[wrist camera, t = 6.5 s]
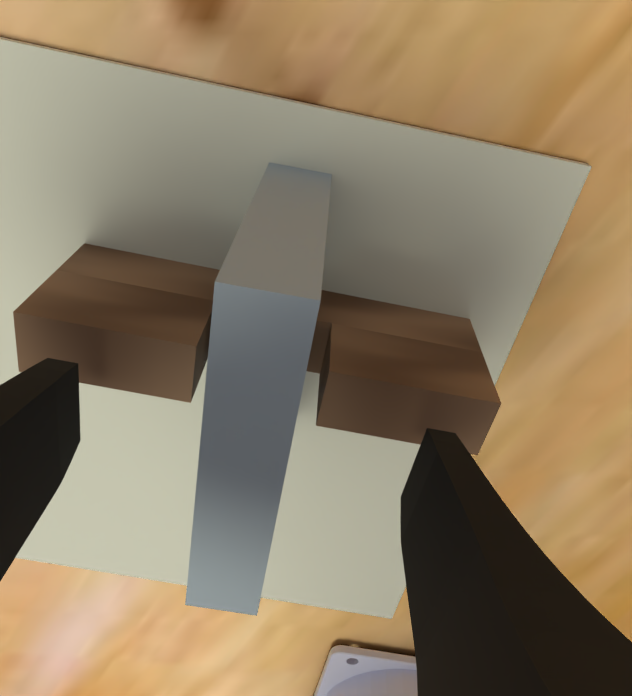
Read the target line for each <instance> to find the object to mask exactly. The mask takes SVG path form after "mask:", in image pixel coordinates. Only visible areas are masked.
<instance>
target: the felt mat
mask: <svg viewBox="0 0 632 696" xmlns="http://www.w3.org/2000/svg"><path fill="white" fill-rule="evenodd" d="M269 162H270V163H275V164H281V165H286V166H291V167H296V168H302V169H307V170H312V171H317V172H323V173H328V174H332V178H331V189H330V200H329V211H328V223H327V234H326V245H325V256H324V268H323V279H322V290H325V291H330V292H335V293H340V294H346V295H351V296H356V297H361V298H366V299H371V300H376V301H381V302H386V303H391V304H396V305H402V306H407V307H412V308H417V309H422V310H427V311H432V312H437V313H442V314H447V315H452V316H458V317H463V318H468V319H470V321H471V323H472V326H473V329H474V332H475V334H476V337H477V340H478V342H479V345H480V348H481V351H482V353H483V356H484V359H485V361H486V364H487V367H488V370H489V372H490V375H491V378H492V380H493V383H494V386H495V384H496V382H497V380H498V377H499V375H500V373H501V371H502V368H503V366H504V364H505V362H506V359H507V357H508V355H509V352H510V350H511V348H512V346H513V343H514V341H515V339H516V337H517V334H518V332H519V330H520V328H521V325H522V323H523V321H524V319H525V316H526V314H527V312H528V310H529V307H530V305H531V303H532V300H533V298H534V296H535V294H536V291H537V289H538V287H539V285H540V282H541V280H542V278H543V276H544V273H545V271H546V269H547V267H548V264H549V262H550V260H551V258H552V255H553V253H554V251H555V248H556V246H557V244H558V242H559V239H560V237H561V235H562V233H563V230H564V228H565V226H566V224H567V221H568V219H569V217H570V215H571V212H572V210H573V208H574V206H575V203H576V201H577V199H578V196H579V194H580V192H581V190H582V187H583V185H584V183H585V181H586V178H587V176H588V174H589V172H590V169H591V166H590V165H589V164H587V163H582V162H578V161H573V160H568V159H564V158H559V157H554V156H550V155H545V154H540V153H536V152H531V151H527V150H522V149H517V148H513V147H508V146H503V145H499V144H494V143H490V142H485V141H480V140H476V139H471V138H466V137H462V136H457V135H453V134H448V133H443V132H439V131H434V130H429V129H425V128H420V127H416V126H411V125H406V124H402V123H397V122H392V121H388V120H383V119H378V118H374V117H369V116H365V115H360V114H355V113H351V112H346V111H341V110H337V109H332V108H328V107H323V106H318V105H314V104H309V103H304V102H300V101H295V100H291V99H286V98H281V97H277V96H272V95H267V94H263V93H258V92H254V91H249V90H244V89H240V88H235V87H230V86H226V85H221V84H216V83H212V82H207V81H203V80H198V79H193V78H189V77H184V76H179V75H175V74H170V73H166V72H161V71H156V70H152V69H147V68H142V67H138V66H133V65H129V64H124V63H119V62H115V61H110V60H105V59H101V58H96V57H92V56H87V55H82V54H78V53H73V52H68V51H64V50H59V49H54V48H50V47H45V46H41V45H36V44H31V43H27V42H22V41H17V40H13V39H8V38H4V37H0V385H1V384H3V383H4V382H6V381H8V380H9V379H11V378H13V377H15V376H16V375H18V374H20V373H21V372H19V369H18V359H17V348H16V338H15V328H14V317H13V311H14V310H15V309H17V308H18V307H19V306H20V305H21V304H22V303H23V302H24V301H25V300H26V299H27V298H28V297H29V296H30V295H31V294H32V293H33V292H34V291H35V290H36V289H37V288H38V287H39V286H40V285H41V284H43V283H44V282H45V281H46V280H47V279H48V278H49V277H50V276H51V275H52V274H53V273H54V272H55V271H56V270H57V269H58V268H59V267H60V266H61V265H62V264H63V263H64V262H65V261H66V260H67V259H69V258H70V257H71V256H72V255H73V254H74V253H75V252H76V251H77V250H78V249H79V248H80V247H81V246H82V245H83V244H84V243H86V244H91V245H96V246H101V247H106V248H111V249H116V250H121V251H127V252H132V253H137V254H142V255H147V256H152V257H157V258H162V259H167V260H172V261H177V262H183V263H188V264H193V265H198V266H203V267H208V268H213V269H218V270H220V269H221V267H222V265H223V262H224V260H225V258H226V256H227V254H228V251H229V249H230V247H231V245H232V243H233V241H234V238H235V236H236V234H237V232H238V230H239V227H240V225H241V223H242V221H243V219H244V216H245V214H246V212H247V210H248V208H249V206H250V203H251V201H252V199H253V197H254V195H255V192H256V190H257V188H258V186H259V184H260V181H261V179H262V177H263V175H264V173H265V171H266V168H267V166H268V164H269ZM207 361H208V359H207ZM206 372H207V362H206V364H205V367H204V370H203V372H202V375H201V377H200V380H199V383H198V385H197V388H196V391H195V393H194V396H193V398H192V401H191V403H189V402H183V401H178V400H172V399H167V398H161V397H156V396H150V395H145V394H139V393H134V392H128V391H123V390H117V389H111V388H106V387H100V386H95V385H89V384H84V383H79V404H80V439H81V440H80V443H79V445H78V447H77V450H76V452H75V454H74V456H73V459H72V461H71V463H70V466H69V468H68V470H67V472H66V474H65V476H64V478H63V480H62V483H61V484H60V486H59V488H58V489H57V491H56V493H55V494H54V496H53V498H52V499H51V501H50V502H49V504H48V506H47V507H46V509H45V511H44V512H43V514H42V515H41V517H40V519H39V520H38V522H37V523H36V525H35V527H34V528H33V530H32V531H31V533H30V535H29V536H28V538H27V539H26V541H25V543H24V544H23V546H22V547H21V549H20V551H19V552H18V554H17V555H16V557H15V558H20V559H26V560H32V561H39V562H45V563H51V564H57V565H63V566H69V567H76V568H82V569H88V570H94V571H100V572H106V573H112V574H119V575H125V576H131V577H137V578H143V579H149V580H156V581H162V582H168V583H174V584H180V585H186V586H187V581H188V570H189V559H190V548H191V537H192V526H193V515H194V504H195V493H196V482H197V471H198V460H199V449H200V438H201V427H202V416H203V405H204V394H205V383H206ZM319 376H320V374H319V373H313V372H308V371H306V375H305V380H304V385H303V390H302V395H301V400H300V405H299V410H298V415H297V420H296V425H295V430H294V434H293V439H292V444H291V449H290V454H289V459H288V464H287V469H286V474H285V479H284V484H283V489H282V494H281V499H280V504H279V509H278V514H277V519H276V523H275V528H274V533H273V538H272V543H271V548H270V553H269V558H268V563H267V568H266V573H265V578H264V583H263V588H262V593H261V598H266V599H273V600H279V601H285V602H291V603H297V604H303V605H310V606H316V607H322V608H328V609H334V610H340V611H347V612H353V613H359V614H365V615H371V616H377V617H383V618H390V619H392V617H393V615H394V612H395V610H396V608H397V606H398V603H399V601H400V599H401V597H402V594H403V592H404V590H405V588H406V579H405V572H404V564H403V556H402V548H401V524H400V515H401V495H402V492H403V489H404V487H405V484H406V482H407V479H408V476H409V474H410V471H411V468H412V466H413V463H414V461H415V458H416V455H417V453H418V450H419V448H420V444H414V443H409V442H403V441H398V440H392V439H387V438H381V437H376V436H370V435H365V434H359V433H354V432H348V431H343V430H337V429H332V428H326V427H321V426H316V417H317V403H318V390H319Z"/></svg>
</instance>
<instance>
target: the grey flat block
mask: <svg viewBox="0 0 632 696" xmlns="http://www.w3.org/2000/svg"><path fill="white" fill-rule="evenodd" d="M331 178H332V174H328V173H323V172H317V171H312V170H307V169H302V168H296V167H291V166H286V165H281V164H275V163H270V162H269V164H268V166H267V168H266V171H265V173H264V175H263V177H262V179H261V181H260V184H259V186H258V188H257V190H256V192H255V195H254V197H253V199H252V201H251V203H250V206H249V208H248V210H247V212H246V214H245V216H244V219H243V221H242V223H241V225H240V227H239V230H238V232H237V234H236V236H235V238H234V241H233V243H232V245H231V247H230V249H229V251H228V254H227V256H226V258H225V260H224V262H223V265H222V267H221V269H220V271H219V273H218V276H217V278H216V280H215V284H214V295H213V306H212V317H211V328H210V339H209V350H208V361H207V372H206V383H205V394H204V405H203V416H202V427H201V438H200V449H199V460H198V471H197V482H196V493H195V504H194V515H193V526H192V537H191V548H190V559H189V570H188V581H187V592H186V603H185V605H190V606H196V607H203V608H210V609H216V610H223V611H230V612H236V613H243V614H250V615H256V616H257V612H258V608H259V603H260V598H261V593H262V588H263V583H264V578H265V573H266V568H267V563H268V558H269V553H270V548H271V543H272V538H273V533H274V528H275V523H276V519H277V514H278V509H279V504H280V499H281V494H282V489H283V484H284V479H285V474H286V469H287V464H288V459H289V454H290V449H291V444H292V439H293V434H294V430H295V425H296V420H297V415H298V410H299V405H300V400H301V395H302V390H303V385H304V380H305V375H306V370H307V365H308V360H309V355H310V350H311V345H312V341H313V336H314V331H315V326H316V321H317V316H318V311H319V306H320V301H321V290H322V279H323V268H324V256H325V245H326V234H327V223H328V211H329V200H330V189H331Z"/></svg>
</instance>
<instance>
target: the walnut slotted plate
mask: <svg viewBox="0 0 632 696" xmlns="http://www.w3.org/2000/svg"><path fill="white" fill-rule="evenodd" d="M219 271H220V270H218V269H213V268H208V267H203V266H198V265H193V264H188V263H183V262H177V261H172V260H167V259H162V258H157V257H152V256H147V255H142V254H137V253H132V252H127V251H121V250H116V249H111V248H106V247H101V246H96V245H91V244H86V243H84V244H83V245H82V246H81V247H80V248H79V249H78V250H77V251H76V252H75V253H74V254H73V255H72V256H71V257H70V258H69V259H67V260H66V261H65V262H64V263H63V264H62V265H61V266H60V267H59V268H58V269H57V270H56V271H55V272H54V273H53V274H52V275H51V276H50V277H49V278H48V279H47V280H46V281H45V282H44V283H43V284H41V285H40V286H39V287H38V288H37V289H36V290H35V291H34V292H33V293H32V294H31V295H30V296H29V297H28V298H27V299H26V300H25V301H24V302H23V303H22V304H21V305H20V306H19V307H18V308H17V309H15V310H14V311H13V317H14V328H15V338H16V348H17V359H18V369H19V372H23V371H25V370H27V369H28V368H30V367H32V366H34V365H35V364H37V363H39V362H41V361H43V360H45V359H46V358H52V359H58V360H63V361H68V362H74V363H78V369H79V383H84V384H89V385H95V386H100V387H106V388H111V389H117V390H123V391H128V392H134V393H139V394H145V395H150V396H156V397H161V398H167V399H172V400H178V401H183V402H189V403H191V401H192V398H193V396H194V393H195V391H196V388H197V385H198V383H199V380H200V377H201V375H202V372H203V370H204V367H205V364H206V362H207V359H208V350H209V339H210V328H211V317H212V306H213V295H214V284H215V280H216V278H217V276H218V273H219ZM306 371H308V372H313V373H319V374H320V376H319V390H318V403H317V417H316V426H321V427H326V428H332V429H337V430H343V431H348V432H354V433H359V434H365V435H370V436H376V437H381V438H387V439H392V440H398V441H403V442H409V443H414V444H420V445H421V442H422V440H423V437H424V434H425V432H426V429H427V428H431V429H436V430H442V431H447V432H452V433H456V434H457V436H458V437H459V439H460V440H461V442H462V443H463V444H464V446H465V447H466V449H467V450H468V452H469V453H470V454H475V455H478V453H479V451H480V448H481V446H482V444H483V442H484V440H485V438H486V435H487V433H488V431H489V429H490V427H491V424H492V422H493V420H494V418H495V416H496V414H497V411H498V409H499V407H500V405H501V402H500V399H499V397H498V394H497V391H496V388H495V386H494V383H493V380H492V378H491V375H490V372H489V370H488V367H487V364H486V361H485V359H484V356H483V353H482V351H481V348H480V345H479V342H478V340H477V337H476V334H475V332H474V329H473V326H472V323H471V321H470V319H468V318H463V317H458V316H452V315H447V314H442V313H437V312H432V311H427V310H422V309H417V308H412V307H407V306H402V305H396V304H391V303H386V302H381V301H376V300H371V299H366V298H361V297H356V296H351V295H346V294H340V293H335V292H330V291H325V290H321V301H320V306H319V311H318V316H317V321H316V326H315V331H314V336H313V341H312V345H311V350H310V355H309V360H308V365H307V370H306Z"/></svg>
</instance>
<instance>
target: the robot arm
mask: <svg viewBox="0 0 632 696" xmlns="http://www.w3.org/2000/svg"><path fill="white" fill-rule="evenodd" d="M80 440H81V439H80V404H79V369H78V363H74V362H68V361H63V360H58V359H52V358H46V359H45V360H43V361H41V362H39V363H37V364H35V365H34V366H32V367H30V368H28V369H27V370H25V371H23V372H21V373H20V374H18V375H16V376H15V377H13V378H11V379H9V380H8V381H6V382H4V383H3V384H1V385H0V581H1V579H2V578H3V576H4V574H5V573H6V571H7V570H8V568H9V566H10V565H11V563H12V562H13V560H14V559H15V557H16V555H17V554H18V552H19V551H20V549H21V547H22V546H23V544H24V543H25V541H26V539H27V538H28V536H29V535H30V533H31V531H32V530H33V528H34V527H35V525H36V523H37V522H38V520H39V519H40V517H41V515H42V514H43V512H44V511H45V509H46V507H47V506H48V504H49V502H50V501H51V499H52V498H53V496H54V494H55V493H56V491H57V489H58V488H59V486H60V484H61V483H62V480H63V478H64V476H65V474H66V472H67V470H68V468H69V466H70V463H71V461H72V459H73V456H74V454H75V452H76V450H77V447H78V445H79V443H80ZM400 524H401V548H402V556H403V564H404V572H405V579H406V587H407V594H408V601H409V609H410V616H411V624H412V631H413V638H414V646H415V656H416V657H415V656H408V655H402V654H396V653H389V652H383V651H377V650H370V649H364V648H358V647H352V646H345V645H337V646H334V647H333V648H332V649H331V650H330V652H329V655H328V658H327V661H326V663H325V666H324V669H323V671H322V674H321V677H320V680H319V682H318V685H317V688H316V691H315V693H314V696H632V642H631V641H630V640H629V639H627V638H626V637H625V636H624V635H623V634H622V633H621V632H620V631H619V630H618V629H617V628H616V627H615V626H613V625H612V624H611V623H610V622H609V621H608V620H607V619H606V618H605V617H604V616H603V615H602V614H601V613H600V612H599V611H598V610H597V609H596V608H595V607H594V606H593V605H592V604H591V603H590V602H589V601H587V600H586V598H585V597H584V596H583V595H582V594H581V593H580V592H579V591H578V590H577V589H576V588H575V587H574V586H573V585H572V584H571V583H570V582H569V580H568V579H567V578H566V577H565V576H564V575H563V574H562V573H561V572H560V571H559V570H558V569H557V568H556V566H555V565H554V564H553V563H552V562H551V561H550V560H549V559H548V557H547V556H546V555H545V554H544V553H543V552H542V550H541V549H540V548H539V547H538V545H537V544H536V543H535V542H534V541H533V539H532V538H531V537H530V536H529V534H528V533H527V532H526V531H525V530H524V528H523V527H522V526H521V524H520V523H519V522H518V521H517V519H516V518H515V517H514V515H513V514H512V513H511V511H510V510H509V509H508V507H507V506H506V505H505V503H504V502H503V501H502V499H501V498H500V496H499V495H498V494H497V492H496V491H495V489H494V488H493V487H492V485H491V484H490V482H489V481H488V480H487V478H486V477H485V475H484V474H483V472H482V471H481V469H480V468H479V466H478V465H477V464H476V462H475V461H474V459H473V458H472V456H471V455H470V453H469V452H468V450H467V449H466V447H465V446H464V444H463V443H462V442H461V440H460V439H459V437H458V436H457V434H456V433H452V432H447V431H442V430H436V429H431V428H427V429H426V432H425V434H424V437H423V440H422V442H421V445H420V448H419V450H418V453H417V455H416V458H415V461H414V463H413V466H412V468H411V471H410V474H409V476H408V479H407V482H406V484H405V487H404V489H403V492H402V495H401V515H400Z"/></svg>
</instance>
